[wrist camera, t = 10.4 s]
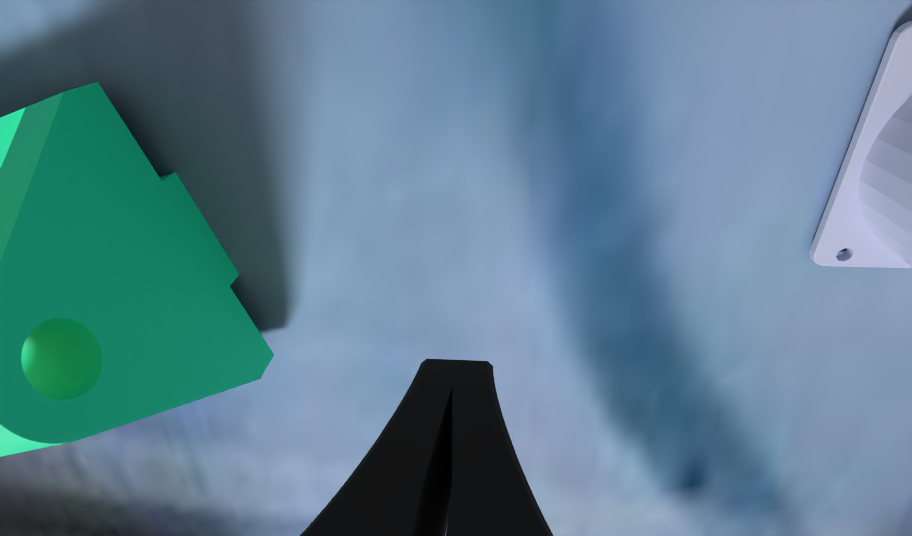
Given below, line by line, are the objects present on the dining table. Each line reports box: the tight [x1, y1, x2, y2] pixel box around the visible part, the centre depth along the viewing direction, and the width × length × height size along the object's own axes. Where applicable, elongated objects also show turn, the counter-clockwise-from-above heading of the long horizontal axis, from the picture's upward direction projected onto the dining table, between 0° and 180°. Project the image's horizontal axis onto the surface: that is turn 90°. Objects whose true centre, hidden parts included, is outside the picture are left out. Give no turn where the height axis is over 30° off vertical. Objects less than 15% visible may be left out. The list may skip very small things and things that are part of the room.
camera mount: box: [0, 82, 274, 457], centre depth 17 cm, size 12×8×10 cm, turn 19°
